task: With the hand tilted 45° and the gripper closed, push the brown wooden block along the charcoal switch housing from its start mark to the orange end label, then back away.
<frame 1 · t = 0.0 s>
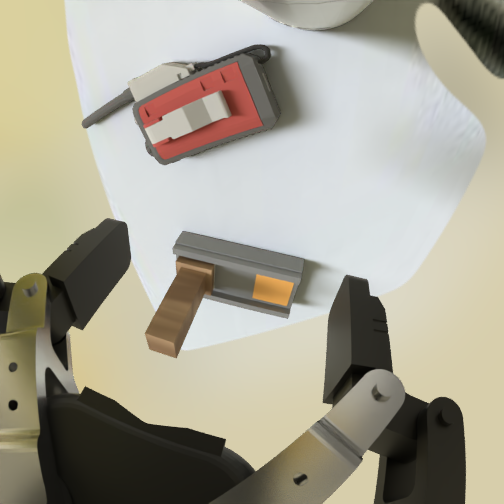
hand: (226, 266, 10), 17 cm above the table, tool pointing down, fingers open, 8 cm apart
walkie-talkie: (176, 108, 25), on the table
brown wooden block: (180, 306, 29), point 7 cm above the table, slide at 0.0 cm
switch housing: (238, 268, 34), on the table
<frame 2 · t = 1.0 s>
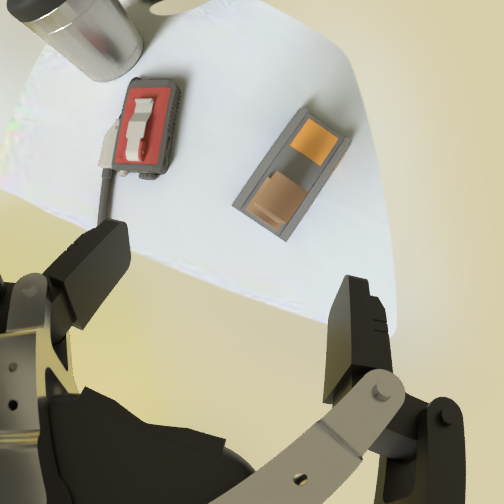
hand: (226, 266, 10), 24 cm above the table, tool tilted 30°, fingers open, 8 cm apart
walkie-talkie: (139, 154, 34), on the table
brown wooden block: (276, 201, 27), point 7 cm above the table, slide at 0.0 cm
switch housing: (291, 174, 34), on the table
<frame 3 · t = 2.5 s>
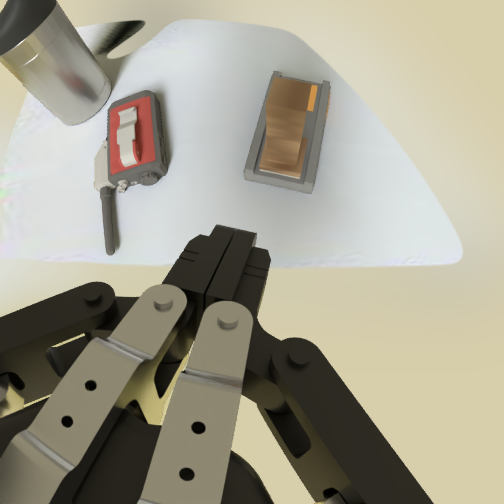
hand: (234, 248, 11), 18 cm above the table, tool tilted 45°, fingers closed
walkie-talkie: (134, 168, 33), on the table
brown wooden block: (286, 129, 24), point 7 cm above the table, slide at 0.0 cm
switch housing: (290, 133, 32), on the table
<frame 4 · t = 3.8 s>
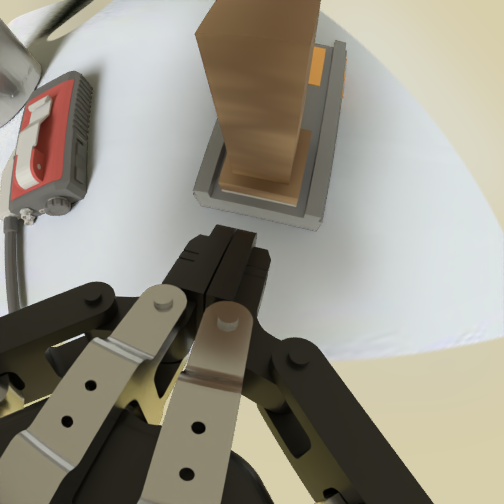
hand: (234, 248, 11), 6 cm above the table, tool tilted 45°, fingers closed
walkie-talkie: (50, 187, 20), on the table
brown wooden block: (266, 108, 11), point 7 cm above the table, slide at 0.0 cm
switch housing: (281, 123, 19), on the table
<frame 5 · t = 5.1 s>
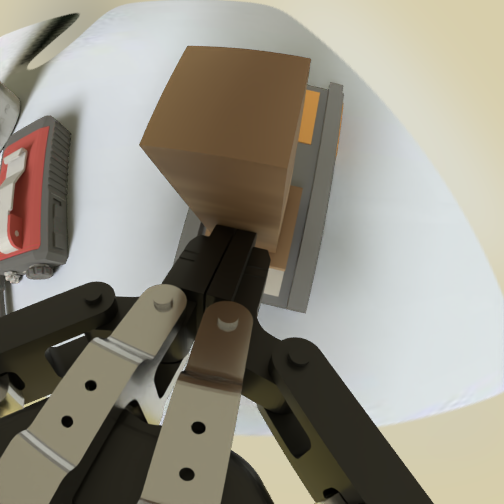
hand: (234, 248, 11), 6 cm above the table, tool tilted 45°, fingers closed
walkie-talkie: (32, 243, 19), on the table
brown wooden block: (246, 186, 10), point 7 cm above the table, slide at 1.3 cm, touching gripper
switch housing: (267, 185, 18), on the table
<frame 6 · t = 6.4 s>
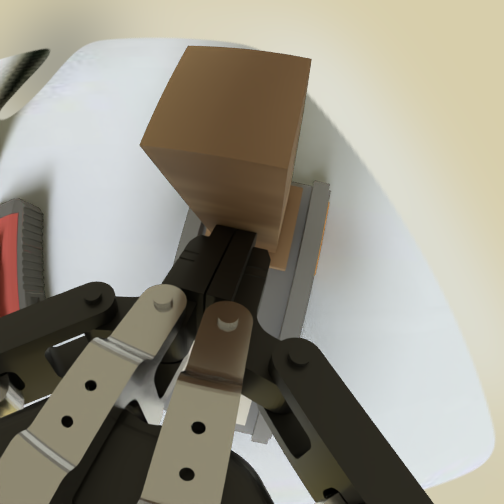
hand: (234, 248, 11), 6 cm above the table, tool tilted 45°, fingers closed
walkie-talkie: (19, 326, 18), on the table
brown wooden block: (247, 186, 10), point 7 cm above the table, slide at 8.3 cm, touching gripper
switch housing: (239, 301, 17), on the table
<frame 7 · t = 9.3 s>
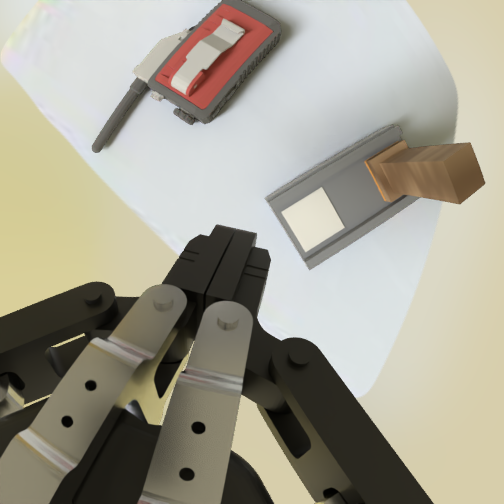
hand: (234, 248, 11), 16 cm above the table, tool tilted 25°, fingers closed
walkie-talkie: (187, 83, 24), on the table
brown wooden block: (423, 171, 19), point 7 cm above the table, slide at 8.5 cm
switch housing: (347, 192, 26), on the table
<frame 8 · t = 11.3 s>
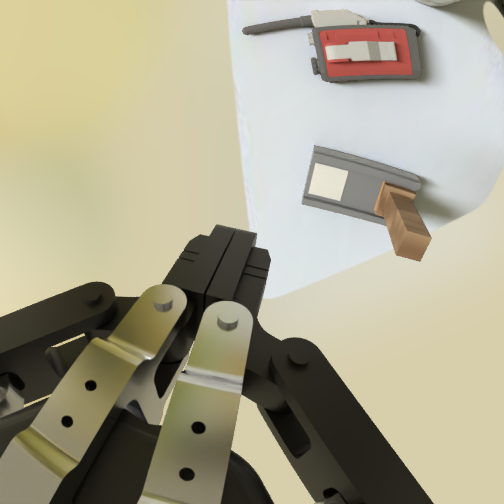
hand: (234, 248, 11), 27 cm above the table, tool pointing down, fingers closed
walkie-talkie: (336, 46, 27), on the table
brown wooden block: (403, 220, 29), point 7 cm above the table, slide at 8.5 cm
switch housing: (360, 184, 36), on the table
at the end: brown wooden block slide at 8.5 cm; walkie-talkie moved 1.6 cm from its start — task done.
